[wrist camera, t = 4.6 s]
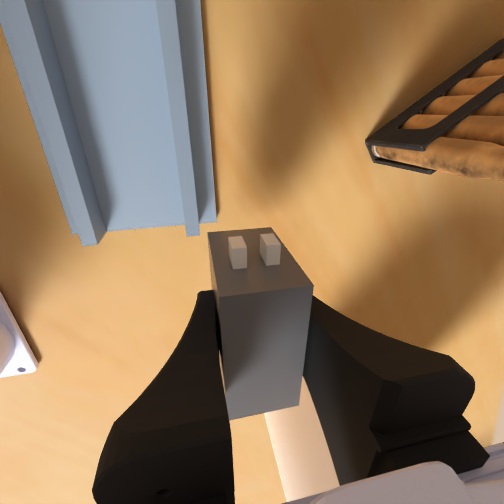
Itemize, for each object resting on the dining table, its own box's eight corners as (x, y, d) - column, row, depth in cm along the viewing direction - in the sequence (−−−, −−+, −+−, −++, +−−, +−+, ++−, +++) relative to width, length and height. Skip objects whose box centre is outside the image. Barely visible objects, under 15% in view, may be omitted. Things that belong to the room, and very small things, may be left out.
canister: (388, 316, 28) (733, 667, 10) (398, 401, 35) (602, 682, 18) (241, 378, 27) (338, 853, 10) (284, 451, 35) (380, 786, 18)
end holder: (75, 230, 18) (58, 248, 15) (-8, -21, 12) (-54, -52, 10) (215, 219, 19) (219, 233, 17) (198, -8, 14) (200, -32, 11)
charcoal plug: (215, 332, 15) (227, 420, 11) (206, 215, 12) (217, 274, 8) (267, 324, 16) (298, 405, 11) (271, 211, 13) (316, 262, 8)
